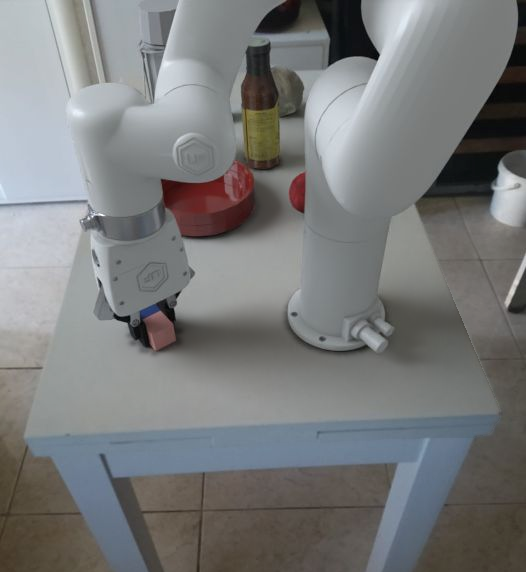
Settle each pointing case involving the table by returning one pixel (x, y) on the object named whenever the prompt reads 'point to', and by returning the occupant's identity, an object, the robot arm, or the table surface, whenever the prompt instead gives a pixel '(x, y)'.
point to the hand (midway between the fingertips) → (154, 331)
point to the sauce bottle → (260, 107)
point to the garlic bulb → (288, 89)
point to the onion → (298, 192)
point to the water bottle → (154, 38)
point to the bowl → (211, 201)
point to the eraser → (157, 327)
